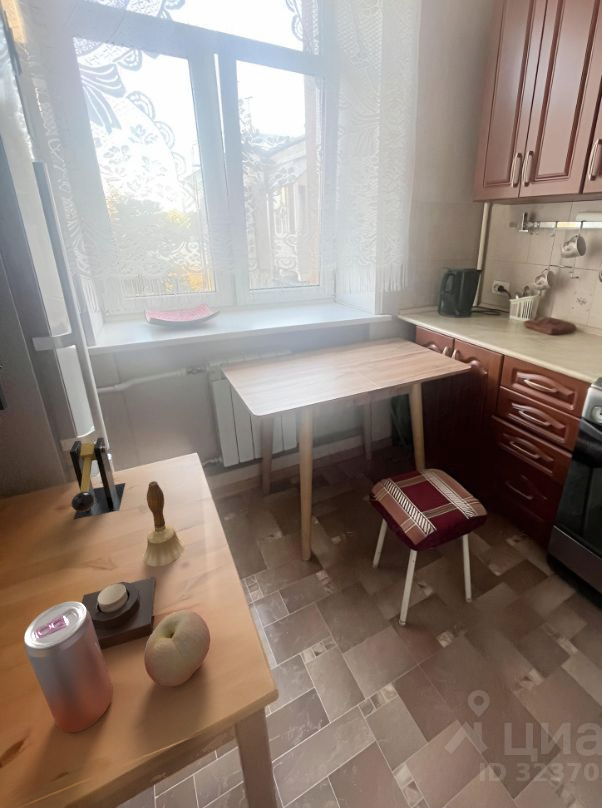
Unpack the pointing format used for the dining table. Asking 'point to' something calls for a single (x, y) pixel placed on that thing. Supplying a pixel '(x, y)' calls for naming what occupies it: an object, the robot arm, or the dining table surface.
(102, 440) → the switch bracket
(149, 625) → the button block
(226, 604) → the dining table surface
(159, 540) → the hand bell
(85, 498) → the lever
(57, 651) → the beverage can
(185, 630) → the fruit
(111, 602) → the button
